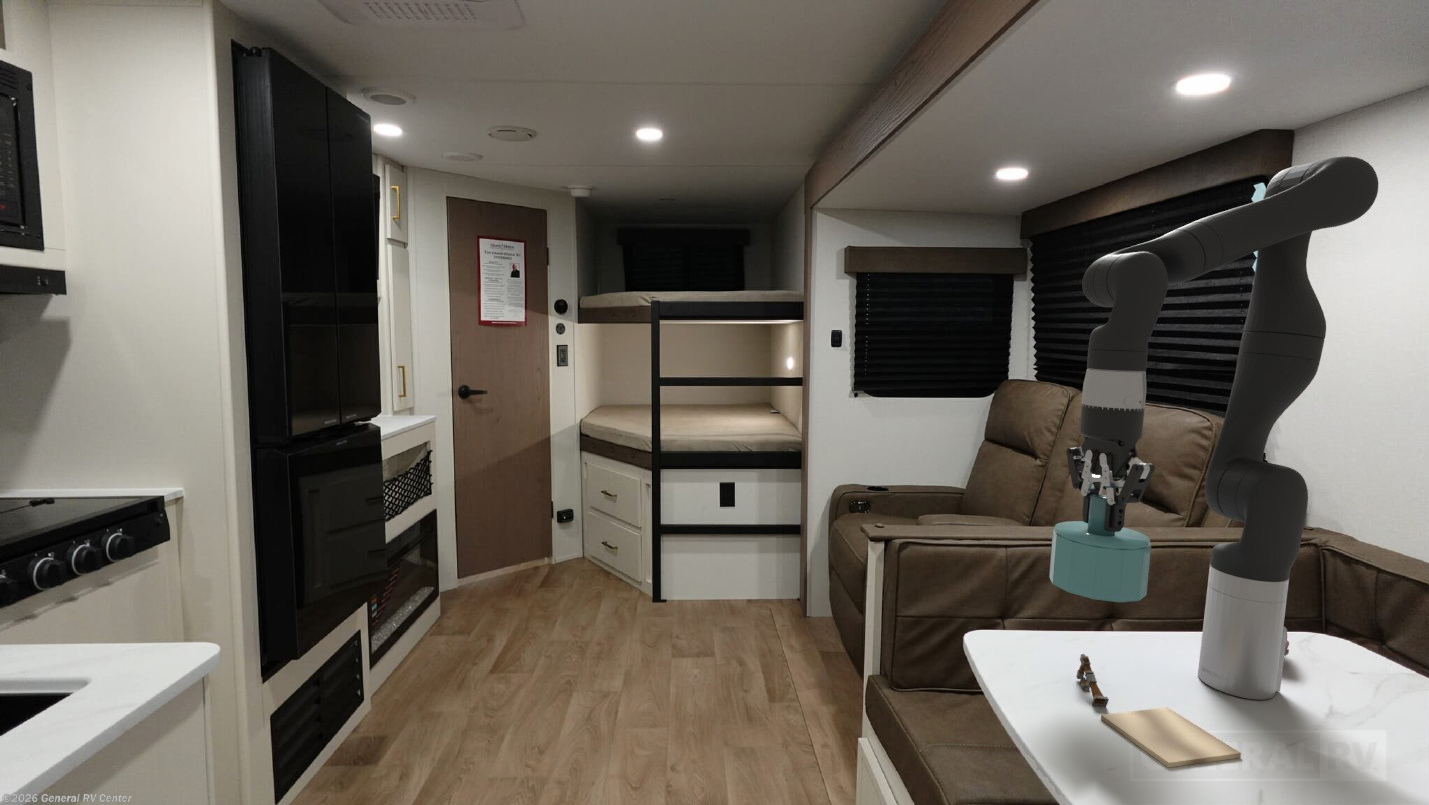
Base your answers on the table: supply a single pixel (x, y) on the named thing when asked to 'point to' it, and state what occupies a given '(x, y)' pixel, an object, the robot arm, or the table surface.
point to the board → (1170, 737)
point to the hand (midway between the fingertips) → (1101, 526)
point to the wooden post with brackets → (1090, 682)
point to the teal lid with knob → (1099, 558)
